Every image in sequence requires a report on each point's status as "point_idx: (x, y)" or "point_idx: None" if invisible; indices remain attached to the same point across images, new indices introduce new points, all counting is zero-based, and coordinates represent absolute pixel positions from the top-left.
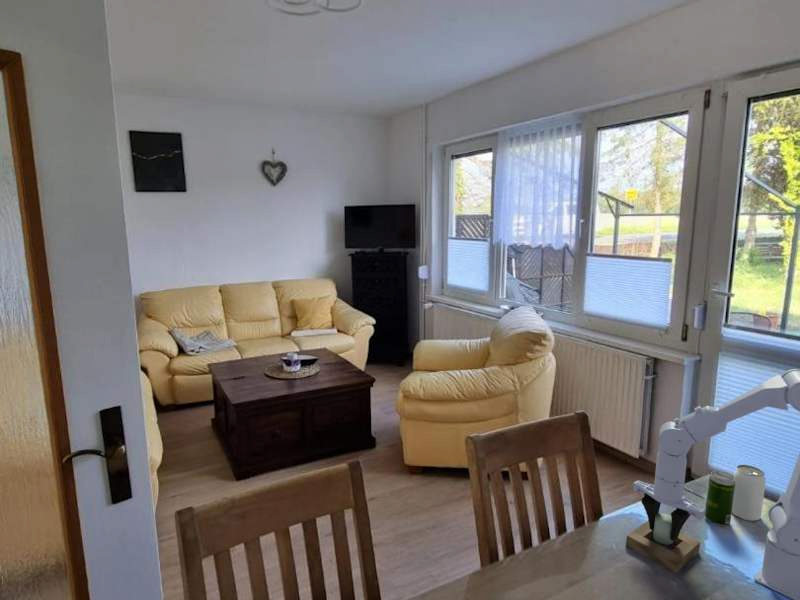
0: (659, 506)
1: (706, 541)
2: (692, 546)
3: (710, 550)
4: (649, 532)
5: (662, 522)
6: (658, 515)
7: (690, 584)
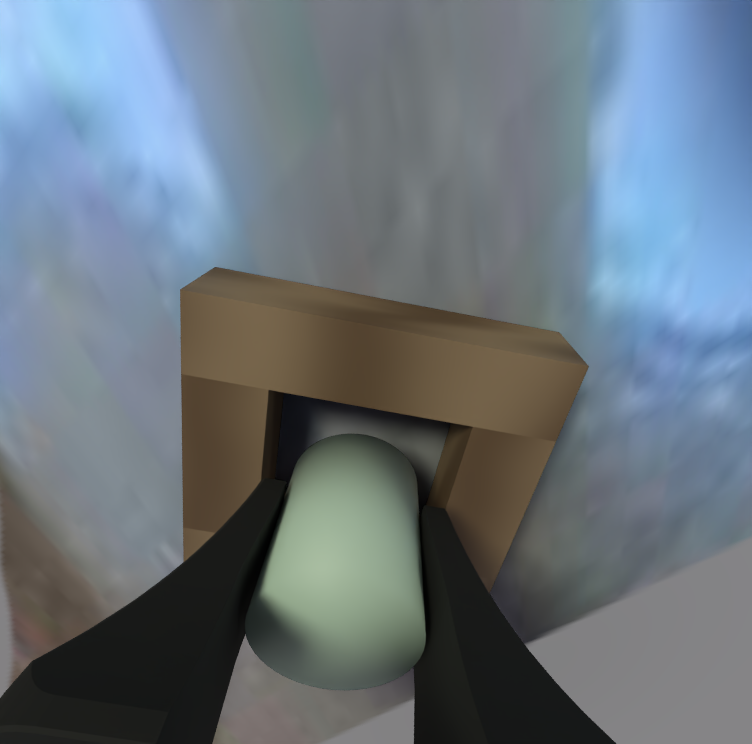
0: (218, 628)
1: (611, 130)
2: (537, 454)
3: (635, 248)
4: (262, 475)
5: (336, 687)
6: (268, 629)
7: (532, 598)
